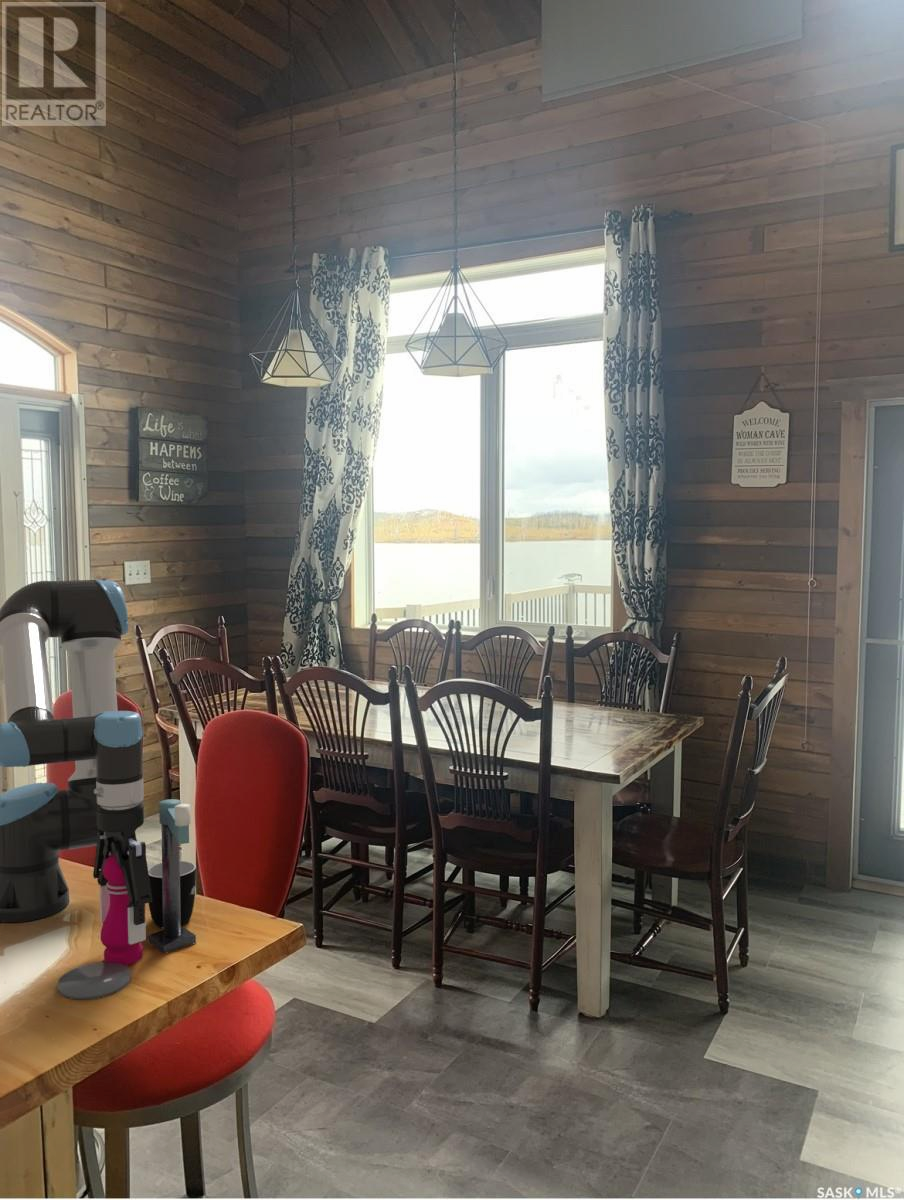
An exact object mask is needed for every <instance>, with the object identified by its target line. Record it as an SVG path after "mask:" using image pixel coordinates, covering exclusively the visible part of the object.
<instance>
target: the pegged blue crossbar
mask: <svg viewBox="0 0 904 1200" xmlns="http://www.w3.org/2000/svg"><path fill="white" fill-rule="evenodd" d="M158 803H159V804H158V808H159V809H158V812H159V815H158V816H159V819H158V820H159V824H160V825H161V824H163V825H168V827H169V829H170V830H171V832H172V834H173V835H174V837H175V838H176V840H177V842H178V843H179V845H184V844H190V825H191V805H190V804H188V803H181V800H180V799H175V798H174V799H173V798H171V799H170V798H169V799H164V800H161V801H159V802H158Z"/></svg>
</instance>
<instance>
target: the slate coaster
mask: <svg viewBox="0 0 904 1200" xmlns="http://www.w3.org/2000/svg"><path fill="white" fill-rule="evenodd" d="M131 973H132V972H131V969H130V968H129V967H128V965H127V966H125V965H123V964H119V963H113V962H94V963H88V964H85V965H82V966H81V965H80V966H77V967H75V968H73V969H70V970H69V971H67V972H65V973H64V974H63V975H62V976H61V977H60V978H58V979H59V980H58V982H57V992H58V994H59V995H61V997H63V998H67V999H69V998H71V999H70V1000H76V999H77V1000H78V999H79V1000H80V1001H81V999H82V1000H83V999H87V1000H93V999H94V998H95V999H99V998H98V997H100V998H104V997H107V996H110V995H112V994H115V993H117V992H119V991H121V990H122V989H124V988H125V987H126V986H127V985H128V984H129V983H130V981H131V977H132V976H131ZM103 996H104V997H103ZM79 1000H78V1001H79ZM83 1001H84V1000H83Z"/></svg>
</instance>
